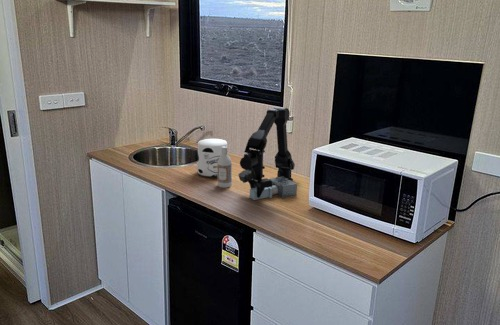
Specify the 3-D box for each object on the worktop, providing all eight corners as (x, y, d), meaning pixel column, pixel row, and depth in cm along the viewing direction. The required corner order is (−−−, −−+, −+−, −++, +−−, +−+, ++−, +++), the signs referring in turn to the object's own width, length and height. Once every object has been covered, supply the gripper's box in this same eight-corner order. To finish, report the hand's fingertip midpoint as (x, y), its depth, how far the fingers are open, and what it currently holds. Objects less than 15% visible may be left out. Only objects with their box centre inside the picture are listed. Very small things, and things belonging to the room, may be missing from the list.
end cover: (277, 190, 212) (277, 181, 210) (285, 195, 207) (285, 185, 205) (248, 196, 204) (248, 187, 203) (255, 201, 199) (255, 191, 197)
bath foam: (215, 187, 216) (215, 148, 210) (220, 182, 222) (220, 144, 216) (228, 188, 214) (228, 149, 208) (233, 184, 220) (233, 145, 214)
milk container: (217, 182, 223) (217, 148, 217) (190, 176, 231) (189, 143, 226) (235, 172, 237) (235, 140, 232) (208, 167, 245) (208, 136, 240)
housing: (282, 187, 216) (282, 176, 215) (296, 195, 206) (297, 183, 205) (268, 190, 213) (269, 178, 211) (282, 198, 203) (282, 186, 201)
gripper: (231, 160, 201) (231, 192, 206) (251, 172, 186) (251, 206, 191) (252, 157, 207) (251, 188, 211) (273, 168, 191) (272, 201, 196)
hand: (256, 195), depth 202 cm, fingers closed on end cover, 4 cm apart
